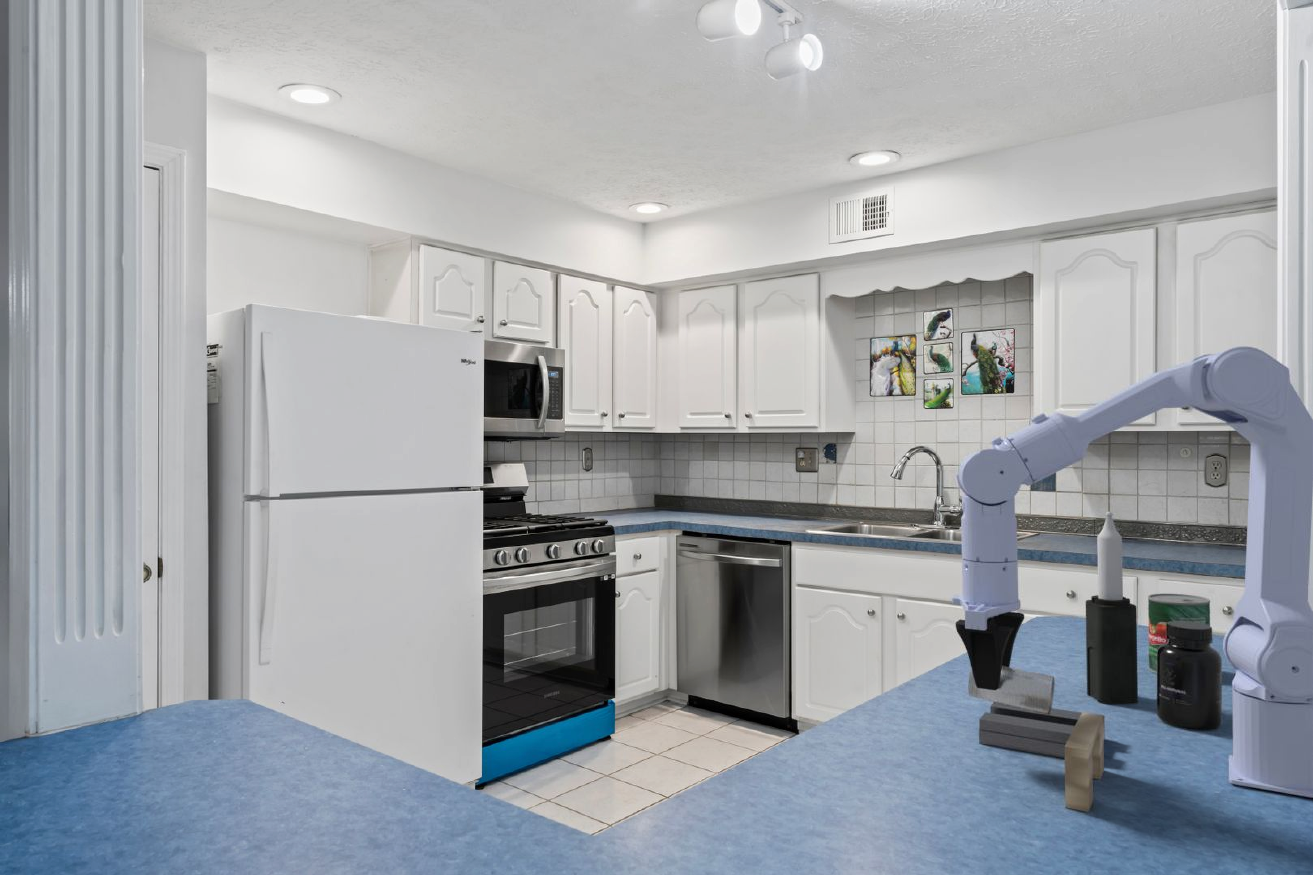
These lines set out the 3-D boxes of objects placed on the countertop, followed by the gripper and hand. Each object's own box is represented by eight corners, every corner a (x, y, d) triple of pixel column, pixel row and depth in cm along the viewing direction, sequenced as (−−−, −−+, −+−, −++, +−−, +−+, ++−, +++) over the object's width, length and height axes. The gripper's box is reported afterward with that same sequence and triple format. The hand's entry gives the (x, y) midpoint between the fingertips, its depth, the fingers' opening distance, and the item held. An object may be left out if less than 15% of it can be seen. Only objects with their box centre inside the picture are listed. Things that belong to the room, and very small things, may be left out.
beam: (1103, 769, 91) (1103, 714, 91) (1088, 811, 81) (1087, 750, 81) (1082, 766, 92) (1082, 711, 92) (1065, 807, 82) (1064, 746, 82)
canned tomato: (1136, 669, 130) (1135, 596, 130) (1171, 662, 133) (1170, 591, 133) (1188, 682, 122) (1187, 605, 122) (1223, 675, 126) (1222, 599, 126)
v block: (1105, 738, 100) (1104, 715, 100) (1095, 763, 93) (1094, 738, 93) (996, 721, 107) (996, 699, 107) (979, 743, 100) (978, 719, 100)
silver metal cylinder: (1052, 711, 93) (1055, 674, 93) (1046, 717, 90) (1050, 679, 90) (975, 693, 97) (978, 658, 98) (966, 699, 94) (970, 662, 94)
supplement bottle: (1158, 726, 104) (1156, 627, 104) (1155, 710, 110) (1154, 616, 110) (1226, 735, 101) (1224, 632, 101) (1219, 718, 107) (1218, 621, 107)
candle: (1141, 703, 113) (1138, 513, 113) (1102, 704, 113) (1099, 513, 113) (1121, 692, 118) (1118, 509, 118) (1083, 692, 118) (1081, 510, 118)
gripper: (967, 549, 103) (969, 663, 103) (934, 565, 91) (936, 694, 91) (1031, 552, 99) (1033, 671, 99) (1005, 570, 87) (1007, 704, 87)
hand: (991, 683), depth 95 cm, fingers closed on silver metal cylinder, 4 cm apart
